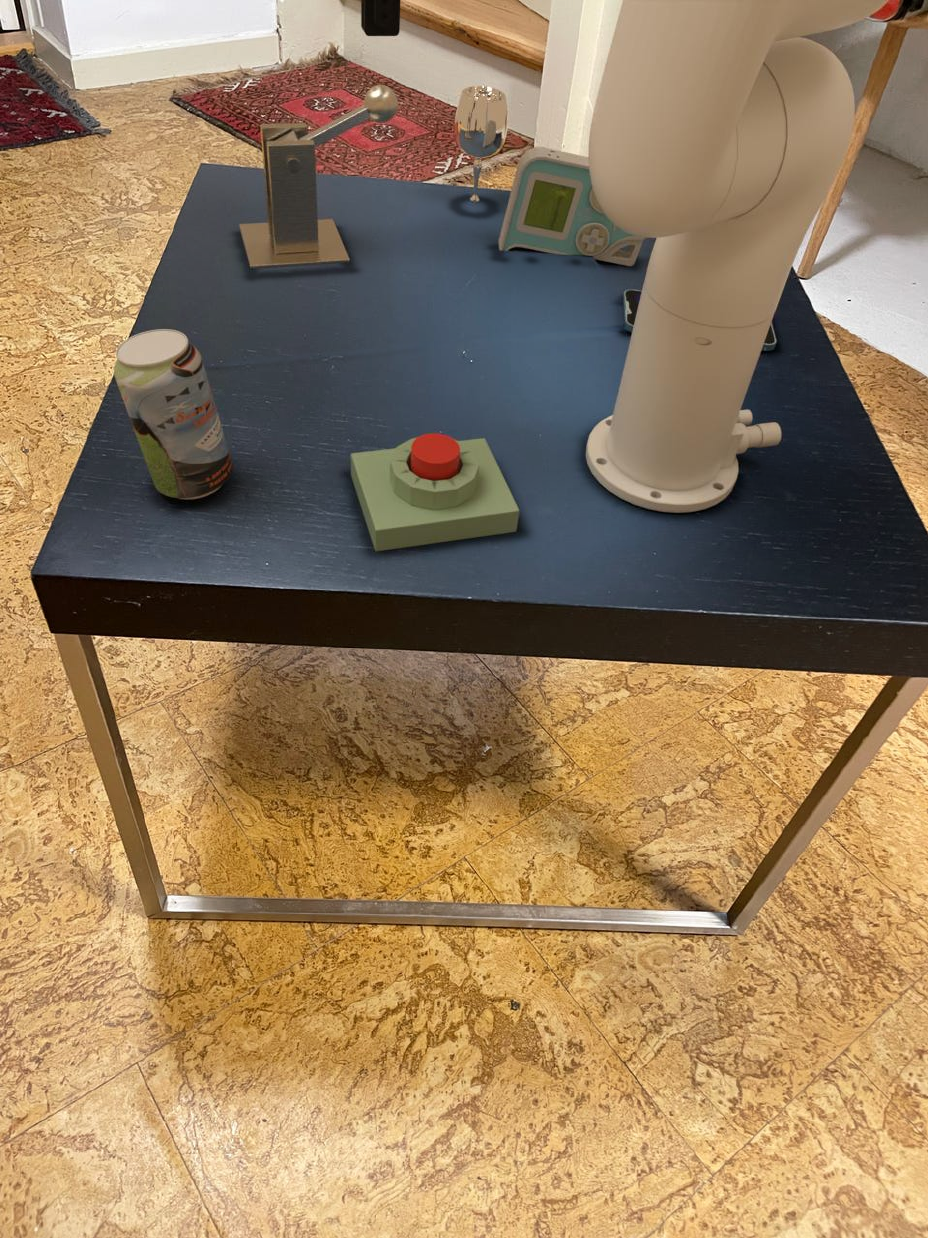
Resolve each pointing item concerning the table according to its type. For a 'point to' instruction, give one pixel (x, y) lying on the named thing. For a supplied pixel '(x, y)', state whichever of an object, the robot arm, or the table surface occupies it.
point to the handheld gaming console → (561, 211)
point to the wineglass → (480, 125)
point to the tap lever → (355, 116)
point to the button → (435, 457)
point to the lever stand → (291, 207)
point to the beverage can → (173, 413)
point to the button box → (432, 498)
